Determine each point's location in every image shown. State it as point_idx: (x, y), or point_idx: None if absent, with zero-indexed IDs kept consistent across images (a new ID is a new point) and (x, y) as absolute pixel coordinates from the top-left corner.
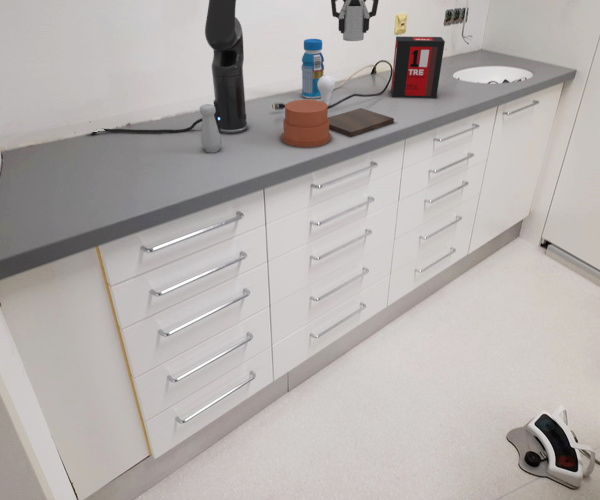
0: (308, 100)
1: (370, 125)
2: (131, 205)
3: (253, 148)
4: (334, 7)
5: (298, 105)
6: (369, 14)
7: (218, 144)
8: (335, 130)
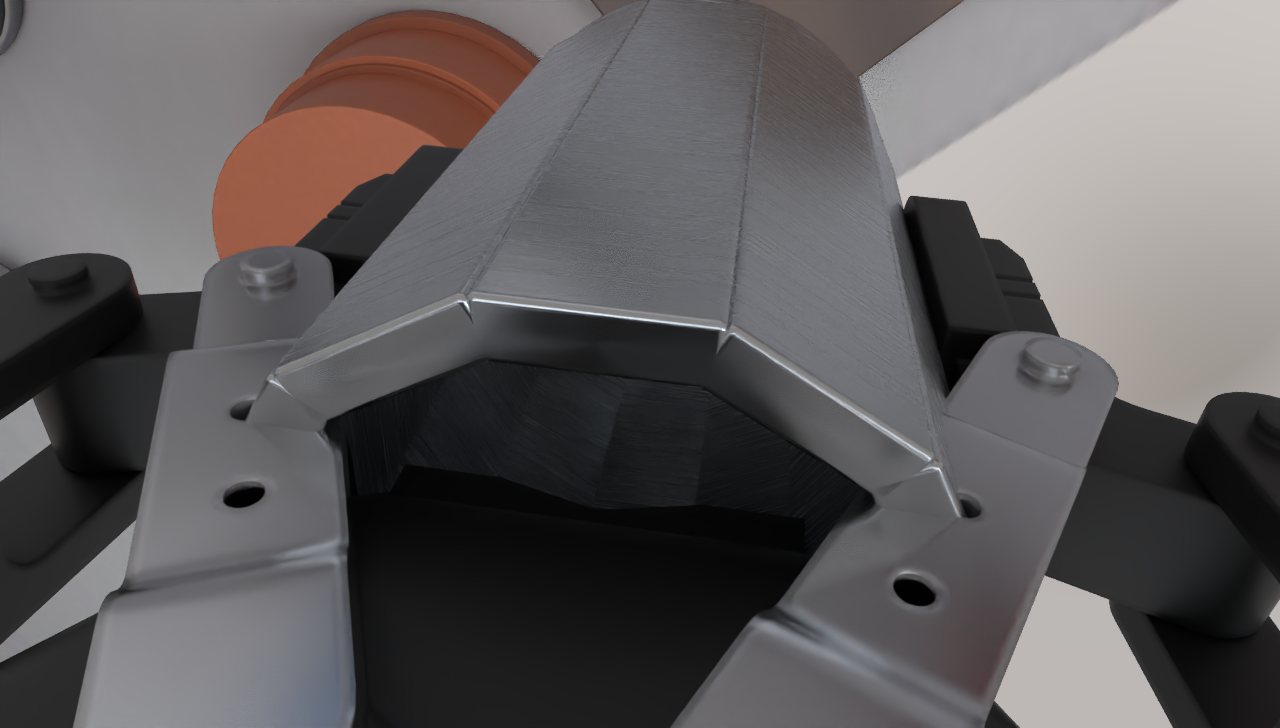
0: (361, 131)
1: (900, 38)
2: (21, 649)
3: (193, 290)
4: (7, 597)
5: None
6: (1058, 551)
7: None
8: None
